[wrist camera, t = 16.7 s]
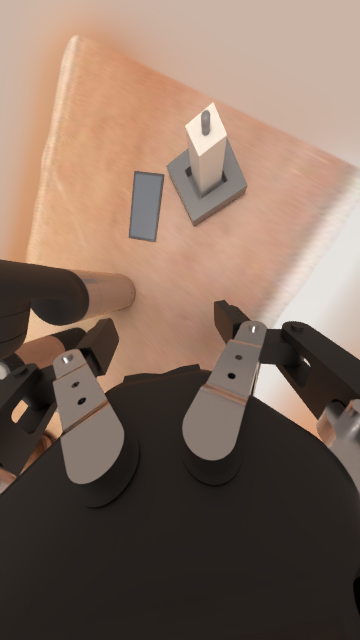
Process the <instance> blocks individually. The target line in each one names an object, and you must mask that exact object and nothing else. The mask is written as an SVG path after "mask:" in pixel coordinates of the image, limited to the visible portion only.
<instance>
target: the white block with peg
mask: <svg viewBox="0 0 360 640" xmlns="http://www.w3.org/2000/svg"><path fill="white" fill-rule="evenodd" d="M185 129H186V136H187V143H188V150H189V157H190V164H191V171H192V178H193V181H194V183H195V185H196V187H197V190H198V192H199V194H200V196H201V198H203V197H205V196H206V195H208V194H209V193H211V192H212V191H214V190H215V189H216V188H218V187H219V186H220V185H221V177H222V169H223V162H224V154H225V147H226V139H227V134H226V131H225V129H224V127H223V124H222V122H221V120H220V117H219V115H218V112H217V110H216V108H215V105H214V103H212V104H210V105H209V106H208V107H207V108H206V109H205V110H203V111H202V112H201V113H200V114H199V115H198V116H196V117H195V118H194V119H193V120H192V121H190V122H189V123H188V124H187V125H186V126H185Z"/></svg>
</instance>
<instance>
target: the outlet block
mask: <svg viewBox="0 0 360 640" xmlns="http://www.w3.org/2000/svg"><path fill="white" fill-rule="evenodd" d="M166 167H167V169H168V172H169V175H170V177H171V179H172V181H173V184H174V186H175V188H176V190H177V192H178V194H179V196H180V198H181V200H182V202H183V204H184V206H185V208H186V210H187V213H188V215H189V217H190V219H191V221H192V223H193V225H194V226H195V225H197V224H198V223H200V222H202V221H203V220H205V219H206V218H208V217H209V216H211V215H212V214H214V213H215V212H217V211H218V210H220V209H221V208H223V207H224V206H226V205H228V204H229V203H231V202H232V201H234V200H235V199H237V198H238V197H240V196H241V195H243V194H244V192H245V190H246V188H247V183H246V181H245V179H244V176H243V174H242V171H241V169H240V167H239V164H238V162H237V160H236V157H235V155H234V153H233V150H232V148H231V146H230V143H229V141H228V139H226V147H225V154H224V162H223V169H222V177H221V185H220V186H219V187H218V188H216V189H215V190H214V191H212V192H211V193H209V194H208V195H206V196H205V197H203V198H201V196H200V194H199V192H198V190H197V187H196V185H195V183H194V181H193V178H192V171H191V164H190V157H189V150H188V149H187V150H186V151H184V152H183V153H182V154H181V155H179V156H178V157H177V158H176V159H174V160H173V161H172V162H171V163H169V164H168V165H167V166H166Z"/></svg>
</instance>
